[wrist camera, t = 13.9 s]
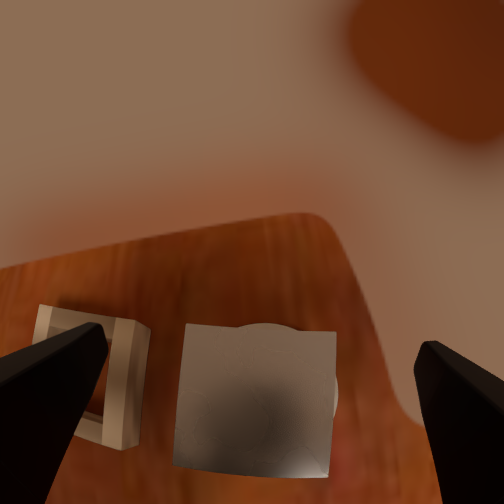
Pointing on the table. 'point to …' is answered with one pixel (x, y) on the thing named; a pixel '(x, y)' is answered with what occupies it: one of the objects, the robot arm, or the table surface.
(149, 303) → the table surface
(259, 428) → the steel peg
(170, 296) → the table surface
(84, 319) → the collar
